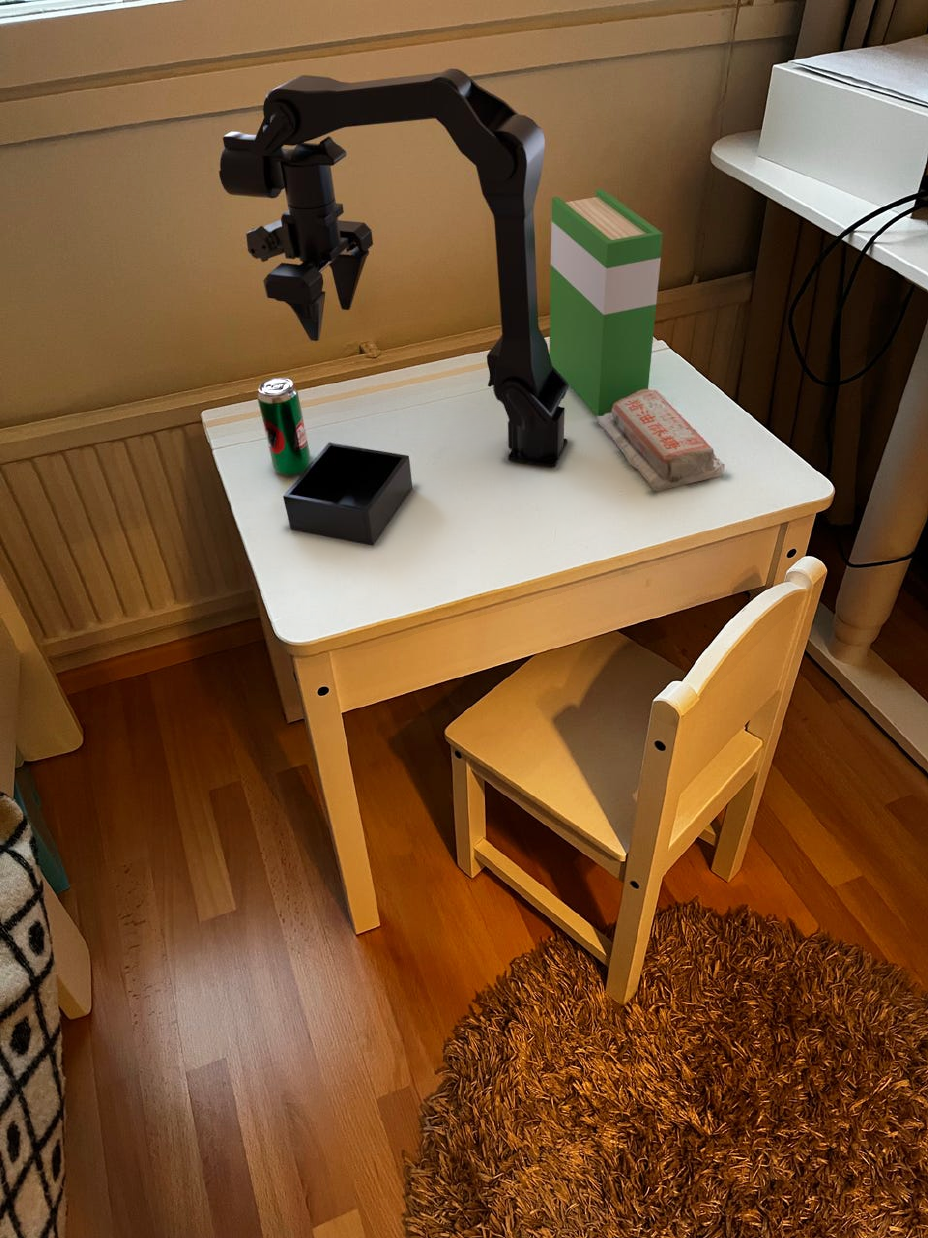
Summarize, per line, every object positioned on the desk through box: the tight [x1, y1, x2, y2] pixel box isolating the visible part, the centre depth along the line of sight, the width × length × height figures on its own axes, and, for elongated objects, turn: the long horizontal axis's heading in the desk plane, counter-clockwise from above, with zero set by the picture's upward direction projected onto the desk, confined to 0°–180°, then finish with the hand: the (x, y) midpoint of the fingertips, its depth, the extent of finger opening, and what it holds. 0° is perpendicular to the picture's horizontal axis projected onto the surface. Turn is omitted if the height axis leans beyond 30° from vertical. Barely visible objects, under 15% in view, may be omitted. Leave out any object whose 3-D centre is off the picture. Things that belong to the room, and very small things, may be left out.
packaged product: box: [596, 388, 726, 492], centre depth 119 cm, size 18×5×10 cm
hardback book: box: [549, 188, 664, 417], centre depth 126 cm, size 18×7×24 cm, turn 19°
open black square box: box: [282, 442, 413, 547], centre depth 113 cm, size 11×12×5 cm
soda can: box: [256, 377, 312, 477], centre depth 118 cm, size 5×5×12 cm
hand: (330, 324), depth 119 cm, fingers open, 9 cm apart
